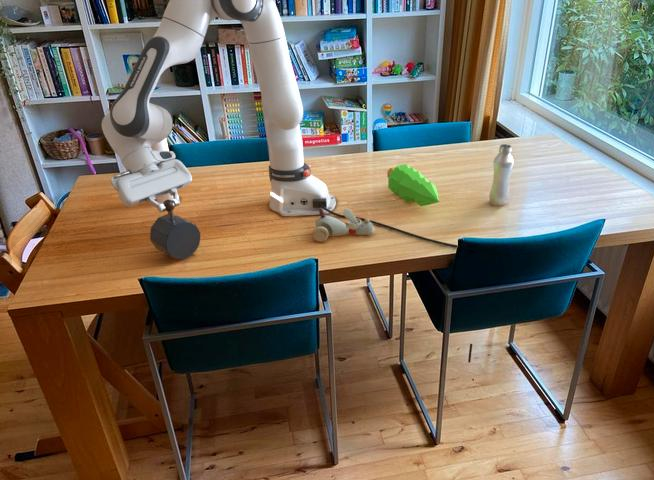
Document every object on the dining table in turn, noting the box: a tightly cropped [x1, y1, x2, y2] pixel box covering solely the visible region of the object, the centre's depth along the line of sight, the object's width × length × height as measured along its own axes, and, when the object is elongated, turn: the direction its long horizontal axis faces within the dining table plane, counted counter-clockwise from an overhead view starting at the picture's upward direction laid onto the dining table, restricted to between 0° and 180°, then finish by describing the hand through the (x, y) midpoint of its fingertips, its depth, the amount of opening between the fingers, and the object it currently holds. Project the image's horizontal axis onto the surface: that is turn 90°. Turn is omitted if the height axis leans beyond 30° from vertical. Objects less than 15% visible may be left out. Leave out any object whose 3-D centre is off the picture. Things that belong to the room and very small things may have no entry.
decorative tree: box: [386, 163, 440, 208], centre depth 184 cm, size 11×12×30 cm
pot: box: [149, 200, 201, 260], centre depth 153 cm, size 8×11×17 cm
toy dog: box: [312, 208, 375, 243], centre depth 165 cm, size 12×19×9 cm, turn 114°
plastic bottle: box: [488, 143, 514, 206], centre depth 180 cm, size 6×7×20 cm
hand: (170, 208), depth 149 cm, fingers closed on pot, 3 cm apart
